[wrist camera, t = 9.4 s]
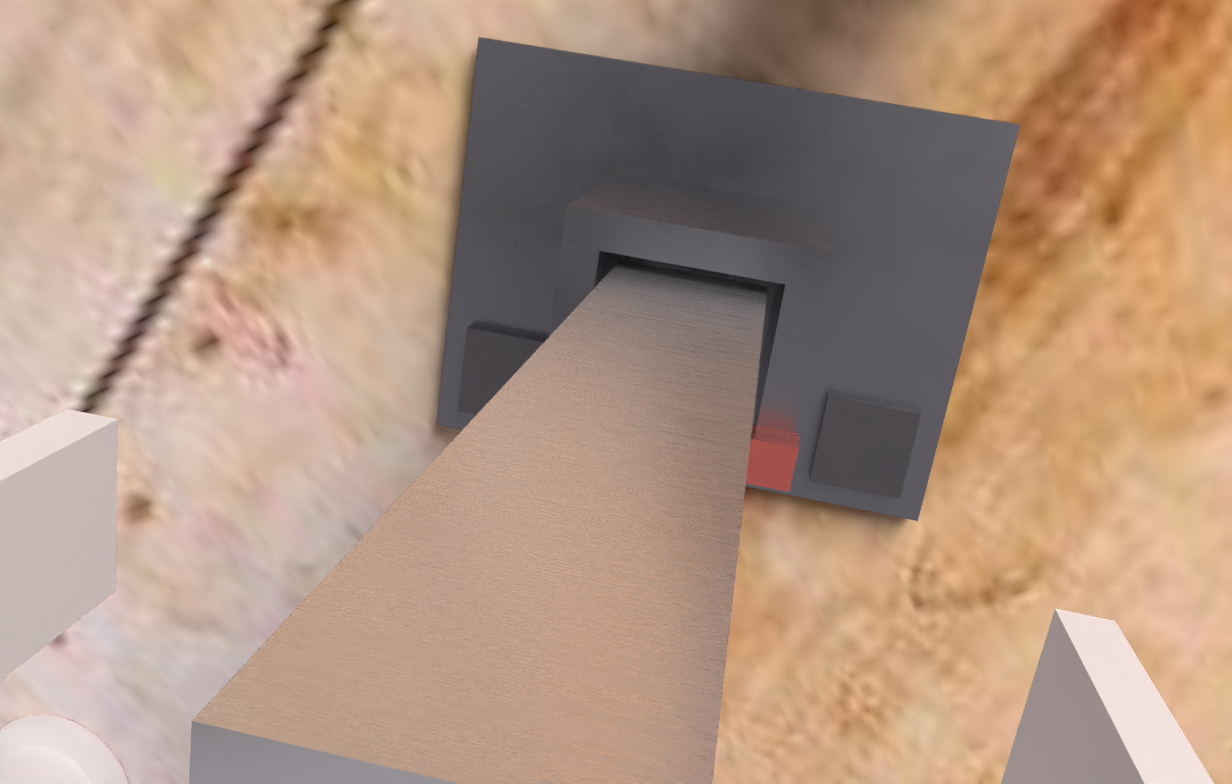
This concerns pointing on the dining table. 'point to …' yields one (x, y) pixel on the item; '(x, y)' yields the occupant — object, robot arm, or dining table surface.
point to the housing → (735, 246)
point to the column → (533, 574)
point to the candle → (55, 754)
